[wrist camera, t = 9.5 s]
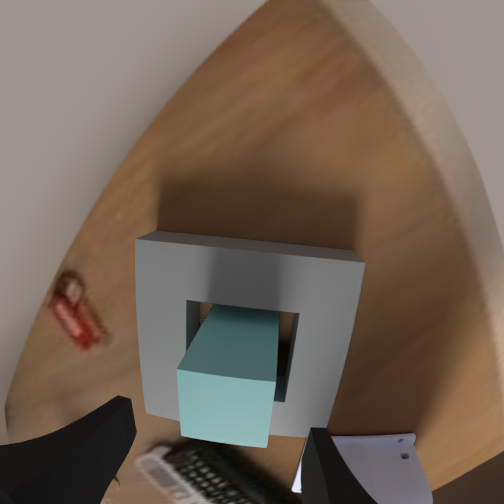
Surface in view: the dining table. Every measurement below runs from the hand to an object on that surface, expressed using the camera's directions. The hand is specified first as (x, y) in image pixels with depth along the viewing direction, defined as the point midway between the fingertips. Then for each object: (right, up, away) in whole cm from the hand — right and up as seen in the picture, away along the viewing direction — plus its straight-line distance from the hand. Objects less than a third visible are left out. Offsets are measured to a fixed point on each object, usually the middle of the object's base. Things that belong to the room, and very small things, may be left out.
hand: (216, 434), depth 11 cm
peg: (+1, +2, +9) cm, 9 cm away
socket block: (+1, +2, +9) cm, 9 cm away
